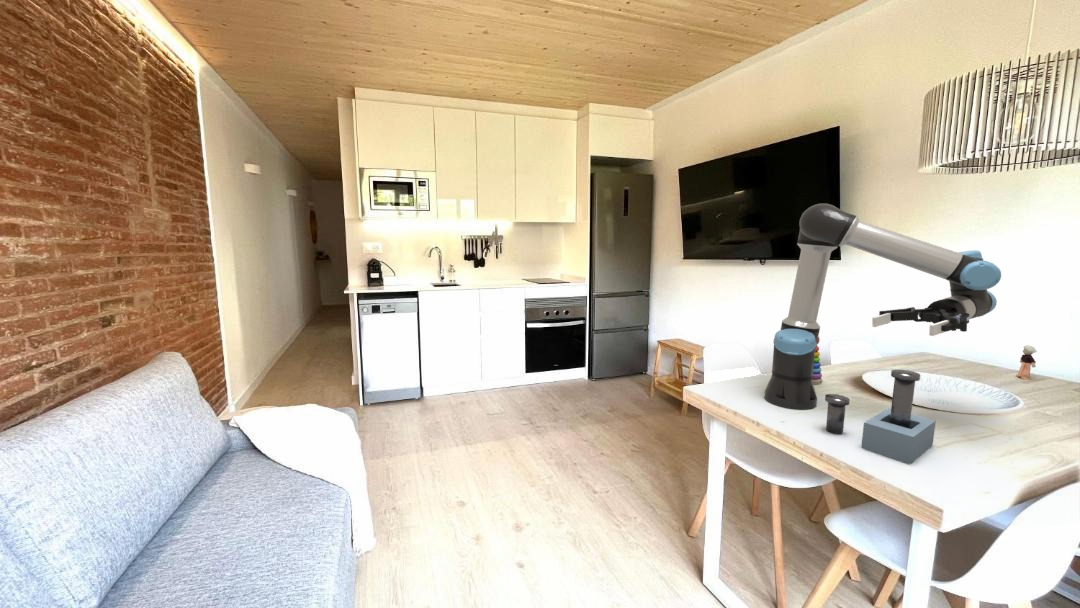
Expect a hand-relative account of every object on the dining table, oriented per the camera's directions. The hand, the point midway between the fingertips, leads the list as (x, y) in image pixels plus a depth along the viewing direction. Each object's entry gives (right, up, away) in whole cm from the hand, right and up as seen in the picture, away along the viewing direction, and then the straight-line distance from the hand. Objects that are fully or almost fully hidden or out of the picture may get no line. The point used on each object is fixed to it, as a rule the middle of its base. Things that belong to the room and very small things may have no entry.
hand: (900, 326), depth 115 cm
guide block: (-4, -31, -4) cm, 32 cm away
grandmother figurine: (+85, -22, +46) cm, 100 cm away
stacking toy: (+5, -23, +47) cm, 53 cm away
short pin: (-14, -30, +6) cm, 34 cm away
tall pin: (-4, -31, -4) cm, 32 cm away
